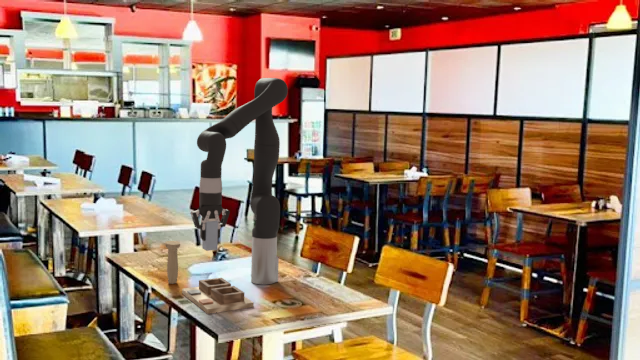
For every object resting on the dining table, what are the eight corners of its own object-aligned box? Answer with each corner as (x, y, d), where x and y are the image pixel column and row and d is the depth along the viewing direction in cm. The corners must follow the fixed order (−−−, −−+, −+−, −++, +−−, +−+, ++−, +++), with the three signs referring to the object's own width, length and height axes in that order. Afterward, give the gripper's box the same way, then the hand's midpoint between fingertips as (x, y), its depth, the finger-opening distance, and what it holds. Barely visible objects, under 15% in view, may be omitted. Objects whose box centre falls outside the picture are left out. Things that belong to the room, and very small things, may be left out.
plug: (213, 247, 228) (213, 216, 226) (217, 249, 224) (217, 218, 223) (202, 248, 226) (202, 217, 224) (206, 250, 222) (206, 219, 221)
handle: (169, 286, 234) (170, 245, 232) (162, 281, 239) (162, 241, 237) (182, 284, 237) (182, 243, 235) (175, 279, 242) (175, 240, 240)
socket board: (224, 287, 235) (224, 275, 234) (253, 306, 215) (253, 293, 214) (181, 293, 227) (182, 280, 226) (207, 313, 206) (207, 300, 206)
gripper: (226, 188, 229) (225, 236, 231) (187, 189, 222) (186, 239, 224) (234, 191, 222) (233, 240, 225) (194, 192, 215) (193, 243, 218)
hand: (210, 239), depth 224 cm, fingers closed on plug, 4 cm apart
